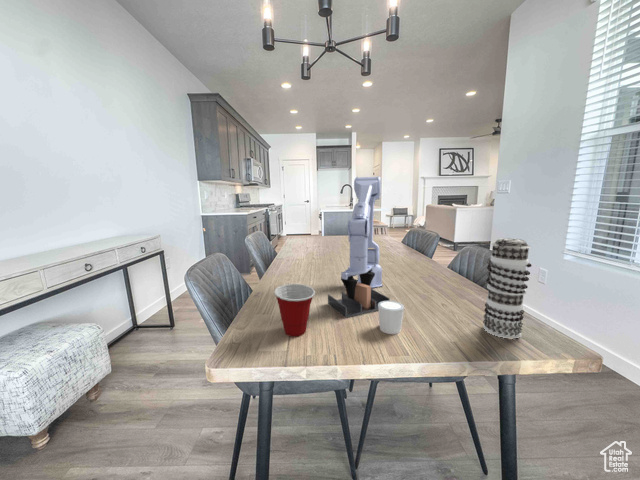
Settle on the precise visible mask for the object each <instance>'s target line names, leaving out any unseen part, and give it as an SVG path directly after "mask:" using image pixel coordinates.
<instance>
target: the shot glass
mask: <svg viewBox="0 0 640 480" xmlns="http://www.w3.org/2000/svg"><path fill="white" fill-rule="evenodd" d="M378 310H379V311H378V321H379V330H380V331H381V332H383V333H385V334H389V335H397V334H399V333H400V332H401V330H402V324H403V319H404V318H403V317H404V311H405V306H404V304H402V303H401V302H398V301H395V300H390V301H382V302H379V303H378Z"/></svg>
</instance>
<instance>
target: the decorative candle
mask: <svg viewBox="0 0 640 480" xmlns="http://www.w3.org/2000/svg"><path fill="white" fill-rule="evenodd" d="M491 245H492V250H491V255H490V258H489V259H487V261H486V263H487V266H486V269H487V271H488V272H487V273H486V277H487V278H486V283H487V285H486V288H487V291H488V294H487V297H486V302H485V303H484V306H485V308H484V310H483V311H484V315H483V318H484V319H483V321H482V322H483V326H482V329H483V328H484V329H485V330H484V329H483V330H484V331H485V332H486V331H487V332H486V333H488V334H489V333H490V335H491V334H492V336H494V335H495V336H494V337H496V336H498V337H497V338H500V337H503V338H502V339H504V338H519V337H520V338H522V333H523V332H522V331H523V329H522V328H523V325H524V323H523V320H524V316H523V315H524V313H525V310H524V301H523V300H524V295H527V289H528V284H526V283H525V282H528V281H530V277H528V276H530V275H531V272H530V271H529V270H527V268H531V267H532V264H531V263H530V262H529V250H530V249H532V247H531V246H530V245H528V244H527V242H526V240H524V239H520V238H511V237H501V238H498V239H496V240H495V242H493V243H491ZM520 338H519V339H520Z"/></svg>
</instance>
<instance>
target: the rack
mask: <svg viewBox="0 0 640 480" xmlns="http://www.w3.org/2000/svg"><path fill="white" fill-rule="evenodd" d="M382 301H391V300H390V297H388V296H387V295H384V294H382V293H380V292H379V291H377V290H374V288H371V307H369V308H364V307H362V304H361V303H359V302H358V301H356V300H355V299H350V298H348V295H347V294H346V292H345V291H341V298H340V299H336V298H334V297H333V296H332V295H330V294H327V304H328V305H329V306H330V307H331V308H332V309H333V310H335V311H336V312H337V313H339V314H340V315H341V316H343V318H344V319H348V318H351V317H352V318H353V317H357V316H361V315H365V314H370V313H375V312H379V310H378V303H379V302H382Z"/></svg>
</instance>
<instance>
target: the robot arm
mask: <svg viewBox="0 0 640 480" xmlns="http://www.w3.org/2000/svg"><path fill="white" fill-rule="evenodd" d="M353 187H354V188H353V190H354V193H355V196H356V199H357V203H356V204H354V206H353V211H352V216H351V219H350V220H348V224H347V235H348V242H349V266H347V269H346V270H343V272H340V276H341V277H340V280H341V282H342V283H343V286H344V289H345V292H346V291H347V295H348V298H350V299H354V297H355V288H356V284H357V282H358V283H361V284H365V285H368V286H371V289H374V288H379V287H383V284H382V283H383V281H382V279H383V268H382V266H381V265H380V264H379V263H380V256H381V255H380V246H379V244H378V243H376V242H375V241H374V217H375V216H374V215H375V214H374V213H375V211H374V209H375V203H376V200H379V199H380V197H381V191H382V190H381V189H382V178H381V176H380V175H377V176H367V177H366V176H362V177H361V176H356V177H355V178H354V180H353ZM355 276H356V277H357V279H355Z"/></svg>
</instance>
